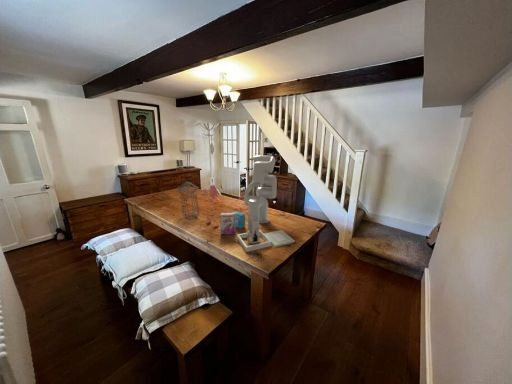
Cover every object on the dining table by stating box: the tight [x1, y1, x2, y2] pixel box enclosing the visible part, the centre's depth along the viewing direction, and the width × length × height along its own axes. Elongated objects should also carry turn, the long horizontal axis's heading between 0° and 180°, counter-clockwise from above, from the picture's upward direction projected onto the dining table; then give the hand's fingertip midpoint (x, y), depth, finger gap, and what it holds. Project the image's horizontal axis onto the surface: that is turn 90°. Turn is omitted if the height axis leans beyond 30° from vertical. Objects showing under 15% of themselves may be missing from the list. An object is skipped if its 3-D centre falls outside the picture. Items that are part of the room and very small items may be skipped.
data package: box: [232, 211, 246, 229], centre depth 165 cm, size 12×4×12 cm, turn 57°
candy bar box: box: [219, 212, 236, 235], centre depth 153 cm, size 11×5×16 cm, turn 92°
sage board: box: [263, 229, 295, 248], centre depth 147 cm, size 18×16×2 cm
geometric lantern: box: [176, 181, 200, 221], centre depth 179 cm, size 16×16×35 cm
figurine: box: [203, 184, 222, 228], centre depth 168 cm, size 15×26×35 cm, turn 45°
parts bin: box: [236, 229, 272, 253], centre depth 142 cm, size 19×19×4 cm
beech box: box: [246, 230, 261, 245], centre depth 141 cm, size 5×8×8 cm, turn 114°
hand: (253, 239), depth 142 cm, fingers closed on beech box, 5 cm apart
